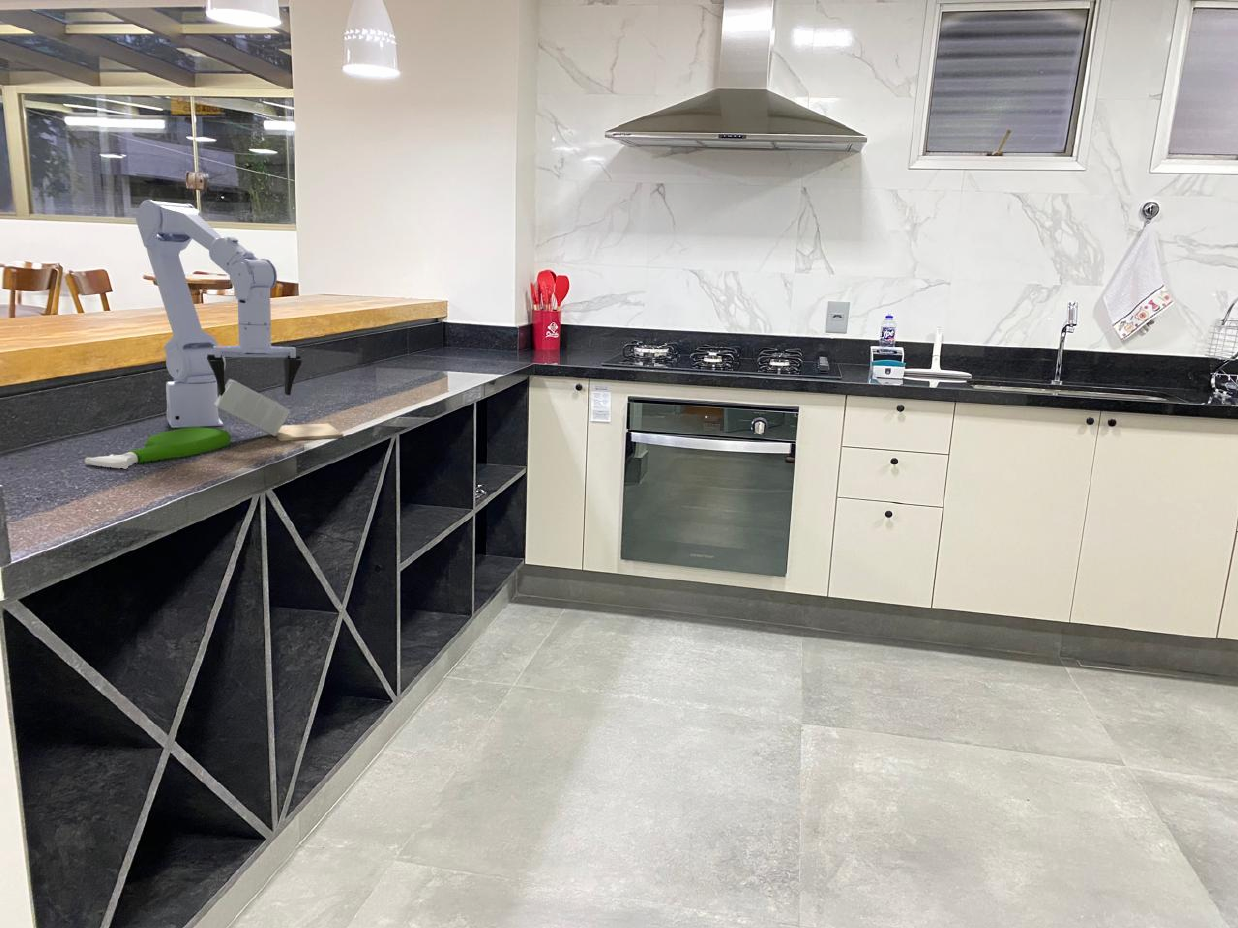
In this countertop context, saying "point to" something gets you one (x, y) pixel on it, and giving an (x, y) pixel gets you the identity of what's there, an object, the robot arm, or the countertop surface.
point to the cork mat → (307, 432)
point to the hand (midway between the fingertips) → (256, 394)
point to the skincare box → (252, 407)
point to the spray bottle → (168, 447)
